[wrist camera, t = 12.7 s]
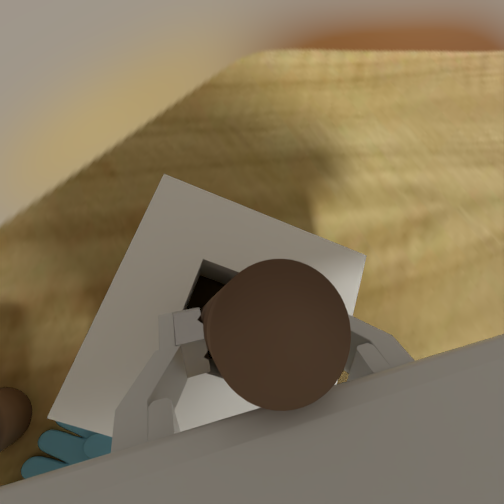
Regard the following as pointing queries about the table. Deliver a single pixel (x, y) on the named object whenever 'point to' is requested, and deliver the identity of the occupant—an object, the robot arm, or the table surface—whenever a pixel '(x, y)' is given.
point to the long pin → (278, 334)
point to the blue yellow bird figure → (66, 449)
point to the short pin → (13, 416)
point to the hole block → (183, 299)
